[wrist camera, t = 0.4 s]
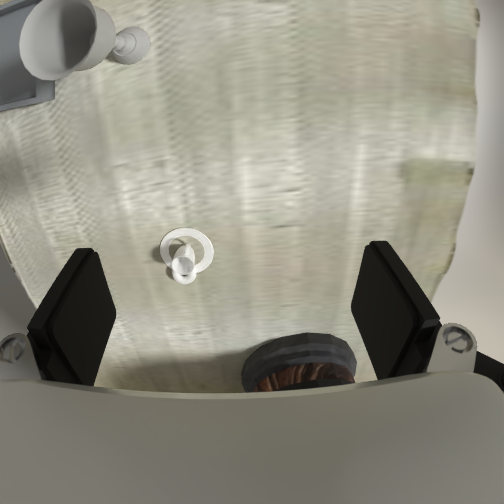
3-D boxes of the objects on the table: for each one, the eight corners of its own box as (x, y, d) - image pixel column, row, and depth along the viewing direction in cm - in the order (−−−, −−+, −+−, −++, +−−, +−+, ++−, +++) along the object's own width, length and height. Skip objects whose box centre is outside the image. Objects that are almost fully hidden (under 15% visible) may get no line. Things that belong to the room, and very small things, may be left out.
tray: (-18, 21, 21) (-33, 21, 18) (61, -9, 23) (49, -14, 20) (-21, 115, 30) (-35, 120, 27) (54, 98, 31) (41, 102, 28)
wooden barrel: (349, 387, 69) (378, 497, 43) (229, 407, 70) (232, 521, 45) (356, 322, 56) (408, 468, 30) (201, 348, 57) (193, 502, 32)
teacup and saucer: (191, 283, 49) (188, 300, 46) (148, 257, 46) (142, 273, 43) (224, 246, 46) (224, 262, 42) (179, 215, 43) (174, 230, 39)
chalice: (95, 42, 28) (7, 38, 13) (138, 9, 27) (69, -27, 11) (123, 83, 32) (46, 99, 17) (168, 50, 30) (115, 35, 15)
